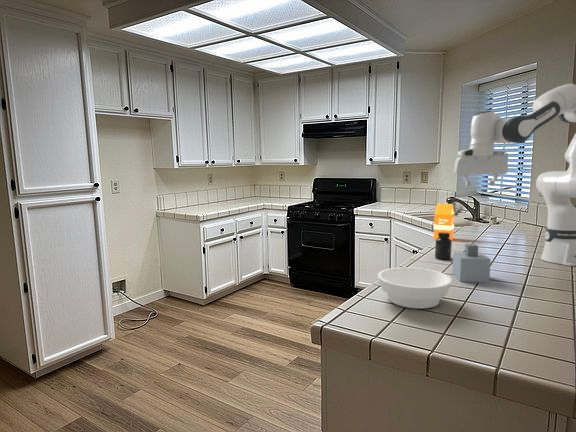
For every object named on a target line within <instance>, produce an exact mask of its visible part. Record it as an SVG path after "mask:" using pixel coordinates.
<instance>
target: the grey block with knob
mask: <svg viewBox="0 0 576 432" xmlns="http://www.w3.org/2000/svg"><path fill="white" fill-rule="evenodd" d="M451 272H452V276H453V277H455V278H456V279H457V280H458V281H459V282H462V283H490V278H491V277H490V276H491V275H490V273H491V258H490V257H488V256H486V255H485V254H484V253H482V252H479V246H478V245H477V244H476V243H465V246H464V251H462V252H461V251H459V252H458V251H453V252H452V269H451Z"/></svg>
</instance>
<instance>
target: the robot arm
mask: <svg viewBox="0 0 576 432" xmlns="http://www.w3.org/2000/svg"><path fill="white" fill-rule="evenodd" d="M557 117H558V118H559V119H560V121H562V122H563V123H565V124H575V123H576V84H574V83H565V84H563V85H560V86H557V87H554V88H552V89H550V90H548V91H547V92H544V93H543V94H541V95H540V96H539V97H536V99H535V100H534V101H533V104H532V112H531V113H529V114H527V115H519V116H515V117H509V118H503V117H501V116H499V115H497V114H496V113H495V112H494V110H485V111H480V112H477V113H475V114H474V115H473V116H472V118H471V123H470V137H471V138H470V139H471V140H470V143H469V148H465V149H462V150H459V151H458V152H457V157H456V159H455V161H454V169H453V173H454V174H455V175H462V178H463V180H464V181H465V186H466V187H471V181H470V180H469V179H468V178H469V175H492V177H493V178H492V180H489V186H496V185H495V183H496V180H497V179H498V178H499V175H506V174H507V173H508V171H509V164H508V161H509V154H508V153H507V152H506V151H503V150H502V151H498V150H495V149H494V147H495V144H511V143H512V144H515V143H516V144H522V143H524V142H526V141H527V140H529V138H531V136H532V135H533V134H534V132H536V131H537V130H539V129H540V128H541V127H543V126H544V125H546V124H547V123H549V122H550V121H552V120H553V119H556V118H557ZM564 159H565V161H566V162H567V163H568V168H567V170H565V171H564V170H551V171H547V172H542V173H540V174H539V176H538V177H537V178H536V181H535V187H536V190H537V191H538V192H539V193H540V194H541V196H542V197H543V199H544V201H545V203H546V209H547V220H546V221H547V222H546V227H545V231H544V233H545V234H544V246H543V250H542V253H541V255H540V259H541V260H542V261H545V262H548V263H552V264H557V265H558V264H559V265H565V266H568V267H576V207H575V206H574V205H573V203H572V202H571V199H570V198H574V199H576V133H574V135H573V138H572V139H571V141H570V143H569V145H568V147H567V149H566V151H565V152H564Z"/></svg>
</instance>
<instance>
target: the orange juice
mask: <svg viewBox="0 0 576 432" xmlns="http://www.w3.org/2000/svg"><path fill="white" fill-rule="evenodd" d="M433 223H434V225H433V240H434V241H436V239H437V238H439V237H438V232H448V233H450V237H449V238H450V239H451V241H452V240H454V234H455V233H454V231H455V210H454V204H452V203H450V204H449V203H436V206H435V210H434V221H433Z"/></svg>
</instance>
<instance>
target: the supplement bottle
mask: <svg viewBox="0 0 576 432" xmlns="http://www.w3.org/2000/svg"><path fill="white" fill-rule="evenodd" d="M438 237H439V238H437V239H436V240H435V249H434V252H435V253H434V258H435V259H436V260H441V261H449V260H451V259H452V246H453V245H452V240H451V239H450V238H449V237H450V233H448V232H438Z"/></svg>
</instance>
